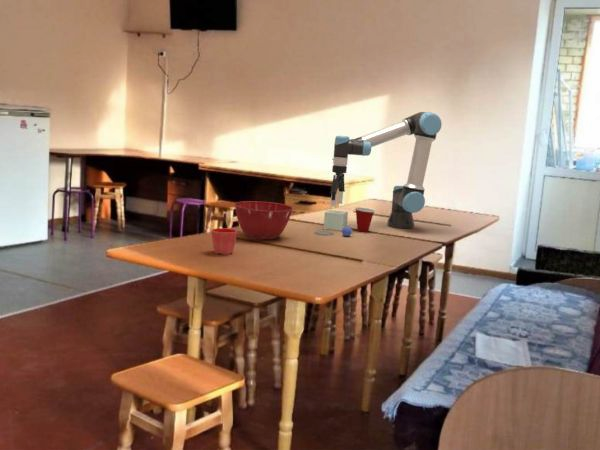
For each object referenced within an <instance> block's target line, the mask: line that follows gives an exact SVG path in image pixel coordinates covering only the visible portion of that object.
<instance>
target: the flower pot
mask: <svg viewBox="0 0 600 450" xmlns="http://www.w3.org/2000/svg"><path fill="white" fill-rule="evenodd" d="M210 232H211V239H212V245H213V250H214V251H213V252H214V253H215V252H216V253H215V254H217V253H221V254H220V255H231V254H230V253H232V254H233V252H234V249H235V245H236V241H237V240H236V239H237V236H238V230H237V229H233V228H226V227H225V228H224V227H222V228H220V227H218V228H212V229H211V230H210Z"/></svg>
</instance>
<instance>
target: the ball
mask: <svg viewBox="0 0 600 450" xmlns="http://www.w3.org/2000/svg"><path fill="white" fill-rule="evenodd" d="M352 233H353V230H352V228H351V227H350V226H348V225H347V226H346V227H344V228H343V229H342V231H341V234H342V235H343V236H345V237H349V236H351V235H352Z"/></svg>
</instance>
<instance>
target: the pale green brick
mask: <svg viewBox="0 0 600 450" xmlns="http://www.w3.org/2000/svg"><path fill="white" fill-rule="evenodd" d="M348 215H349V211H344V210H334V209H329V210H326V211H324V216H323V217H324V218H323V229H324V230H332V231H339V232H342V229H343V228H344V227H346V226H348V219H349V218H348V217H349V216H348Z"/></svg>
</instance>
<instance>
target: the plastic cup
mask: <svg viewBox="0 0 600 450" xmlns="http://www.w3.org/2000/svg"><path fill="white" fill-rule="evenodd" d="M354 209H355V217H356V218H355V219H356V226H357V227H356V228H357V229H356V230H357V231H358V232H361V233H367V232H369V230H370V227H371V224H372V219H373V217H374V213H375V212H376V210H374V209H371V208H368V207H358V206H357V207H354Z"/></svg>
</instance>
